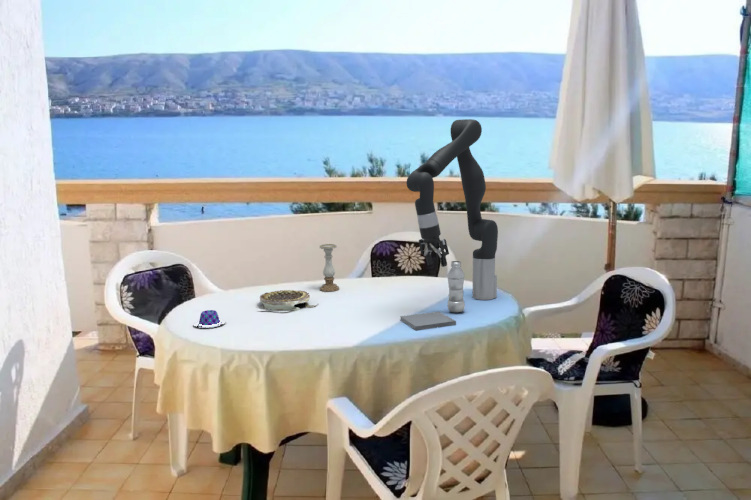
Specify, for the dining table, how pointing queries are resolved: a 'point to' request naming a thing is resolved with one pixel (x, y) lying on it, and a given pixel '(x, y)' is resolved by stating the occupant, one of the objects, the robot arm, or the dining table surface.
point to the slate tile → (427, 320)
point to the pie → (285, 300)
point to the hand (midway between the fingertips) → (437, 265)
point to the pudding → (209, 317)
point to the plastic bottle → (456, 288)
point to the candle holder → (328, 269)
